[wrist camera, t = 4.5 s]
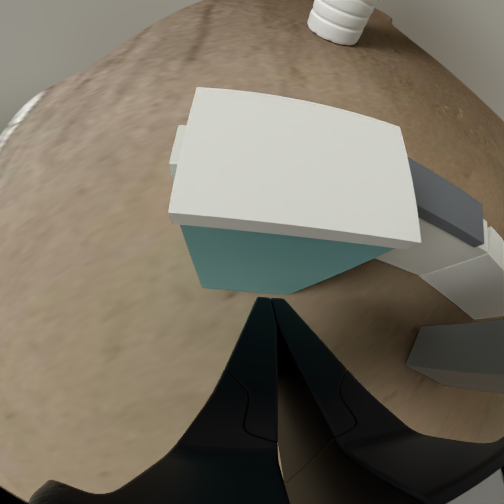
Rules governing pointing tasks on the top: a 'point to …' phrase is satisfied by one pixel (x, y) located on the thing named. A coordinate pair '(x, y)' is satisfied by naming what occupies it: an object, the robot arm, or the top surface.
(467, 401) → the top surface
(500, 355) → the grey and white block
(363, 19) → the water bottle
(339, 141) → the teal and white block
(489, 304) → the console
